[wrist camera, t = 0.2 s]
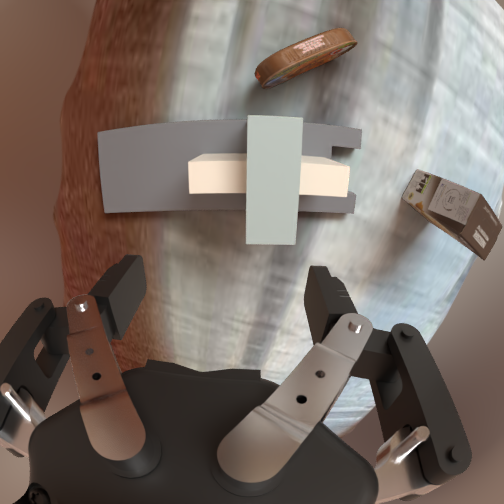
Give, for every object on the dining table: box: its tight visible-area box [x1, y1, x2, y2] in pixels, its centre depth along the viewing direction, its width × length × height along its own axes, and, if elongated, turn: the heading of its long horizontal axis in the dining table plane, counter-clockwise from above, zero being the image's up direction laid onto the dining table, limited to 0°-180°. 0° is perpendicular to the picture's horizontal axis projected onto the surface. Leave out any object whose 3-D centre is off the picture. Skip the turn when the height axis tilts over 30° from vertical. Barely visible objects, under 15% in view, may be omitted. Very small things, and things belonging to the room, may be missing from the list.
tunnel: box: [246, 115, 303, 245], centre depth 31 cm, size 13×5×13 cm, turn 179°
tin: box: [255, 28, 357, 89], centre depth 28 cm, size 15×3×8 cm, turn 122°
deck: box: [98, 120, 362, 214], centre depth 37 cm, size 13×39×2 cm, turn 89°
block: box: [188, 153, 350, 197], centre depth 32 cm, size 3×17×10 cm, turn 89°
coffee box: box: [402, 169, 502, 260], centre depth 33 cm, size 9×6×16 cm
